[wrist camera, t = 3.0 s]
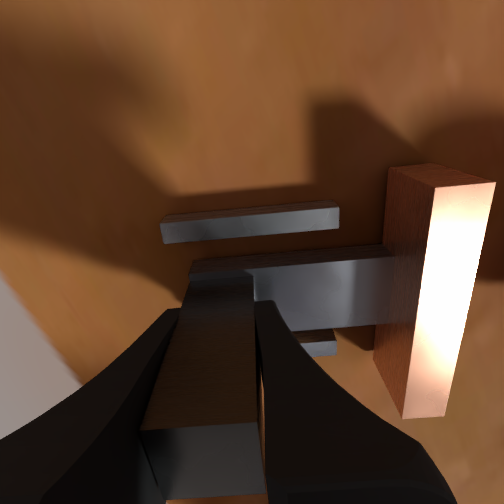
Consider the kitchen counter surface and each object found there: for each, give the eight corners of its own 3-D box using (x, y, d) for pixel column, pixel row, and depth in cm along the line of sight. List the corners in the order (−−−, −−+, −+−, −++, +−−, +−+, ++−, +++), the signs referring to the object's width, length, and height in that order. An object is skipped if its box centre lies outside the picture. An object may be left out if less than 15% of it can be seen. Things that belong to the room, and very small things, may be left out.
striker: (407, 356, 15) (529, 551, 9) (214, 371, 16) (188, 570, 9) (433, 163, 12) (685, 240, 5) (179, 186, 12) (90, 291, 5)
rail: (331, 339, 15) (336, 355, 14) (194, 350, 15) (191, 366, 14) (332, 199, 12) (339, 207, 11) (166, 215, 13) (159, 223, 12)
